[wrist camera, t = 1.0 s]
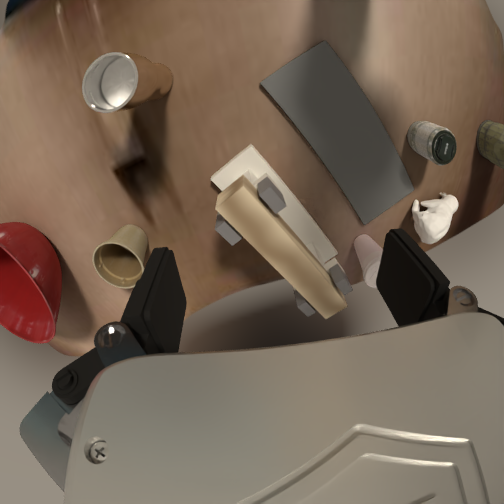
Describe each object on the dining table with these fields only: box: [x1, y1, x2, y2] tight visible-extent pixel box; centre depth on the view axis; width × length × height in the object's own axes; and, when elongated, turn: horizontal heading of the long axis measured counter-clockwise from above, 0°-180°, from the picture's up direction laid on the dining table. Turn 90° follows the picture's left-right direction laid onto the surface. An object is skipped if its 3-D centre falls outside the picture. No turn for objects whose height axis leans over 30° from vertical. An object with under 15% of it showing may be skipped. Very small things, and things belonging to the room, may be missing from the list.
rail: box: [215, 175, 348, 319], centre depth 36 cm, size 4×24×4 cm, turn 40°
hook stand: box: [211, 144, 352, 316], centre depth 40 cm, size 8×25×14 cm, turn 40°
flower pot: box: [92, 225, 148, 289], centre depth 43 cm, size 9×9×9 cm
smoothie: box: [354, 234, 383, 288], centre depth 43 cm, size 6×6×14 cm
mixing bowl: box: [0, 222, 62, 343], centre depth 41 cm, size 28×28×16 cm
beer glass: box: [82, 52, 173, 113], centre depth 26 cm, size 7×7×15 cm
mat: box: [260, 41, 414, 225], centre depth 37 cm, size 12×30×1 cm, turn 40°
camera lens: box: [407, 121, 457, 165], centre depth 34 cm, size 6×6×8 cm
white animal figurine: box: [412, 193, 458, 244], centre depth 41 cm, size 6×8×12 cm
